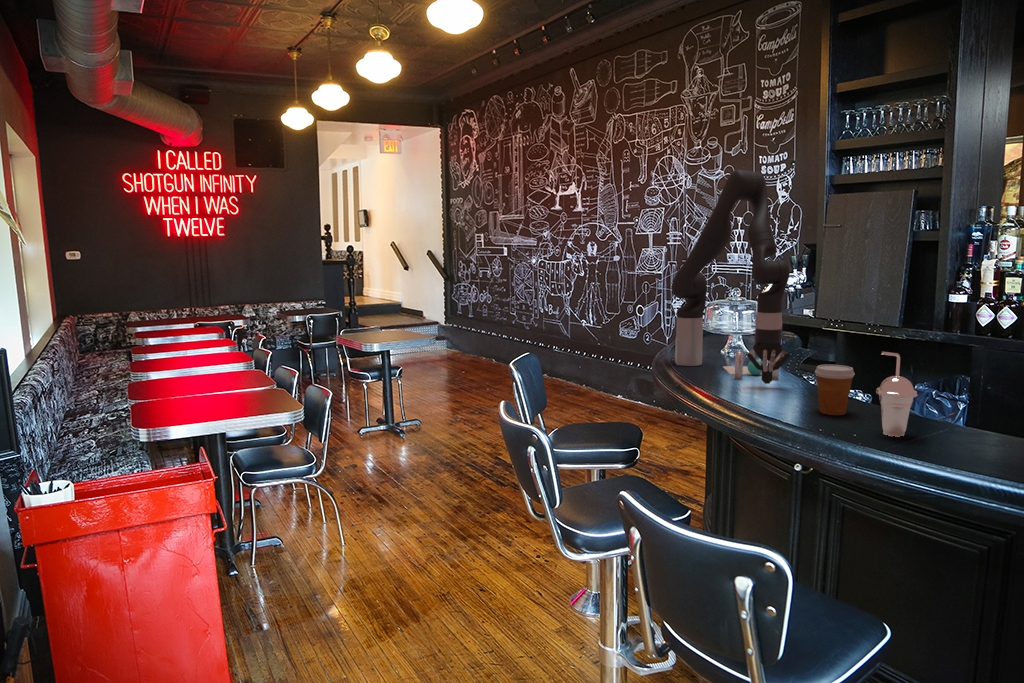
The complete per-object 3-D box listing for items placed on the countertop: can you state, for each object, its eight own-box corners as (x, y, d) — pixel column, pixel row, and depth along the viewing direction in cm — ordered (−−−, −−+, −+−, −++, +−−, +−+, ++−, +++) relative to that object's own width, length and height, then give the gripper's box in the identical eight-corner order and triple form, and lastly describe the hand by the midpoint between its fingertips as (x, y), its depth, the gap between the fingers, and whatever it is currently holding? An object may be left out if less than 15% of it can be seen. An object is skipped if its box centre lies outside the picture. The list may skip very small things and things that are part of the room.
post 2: (771, 380, 226) (772, 352, 225) (770, 378, 228) (771, 351, 227) (779, 380, 226) (780, 352, 224) (777, 378, 228) (778, 351, 227)
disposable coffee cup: (804, 410, 188) (806, 366, 186) (831, 406, 191) (833, 363, 190) (833, 418, 179) (836, 372, 177) (860, 414, 183) (863, 368, 181)
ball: (747, 356, 235) (745, 368, 238) (749, 365, 231) (747, 377, 234) (763, 357, 234) (761, 368, 237) (765, 366, 230) (762, 378, 233)
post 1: (735, 379, 227) (736, 352, 226) (733, 378, 230) (734, 351, 228) (743, 379, 227) (743, 352, 226) (741, 378, 229) (742, 351, 228)
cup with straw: (920, 440, 160) (926, 353, 157) (877, 438, 161) (883, 352, 158) (906, 429, 168) (912, 347, 165) (866, 428, 170) (870, 346, 167)
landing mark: (730, 374, 235) (730, 374, 235) (722, 366, 249) (722, 366, 249) (773, 374, 234) (773, 374, 234) (763, 366, 247) (763, 366, 247)
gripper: (788, 325, 215) (785, 380, 218) (743, 325, 216) (741, 380, 219) (795, 328, 208) (792, 386, 210) (748, 328, 209) (746, 385, 212)
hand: (766, 383), depth 215 cm, fingers closed
